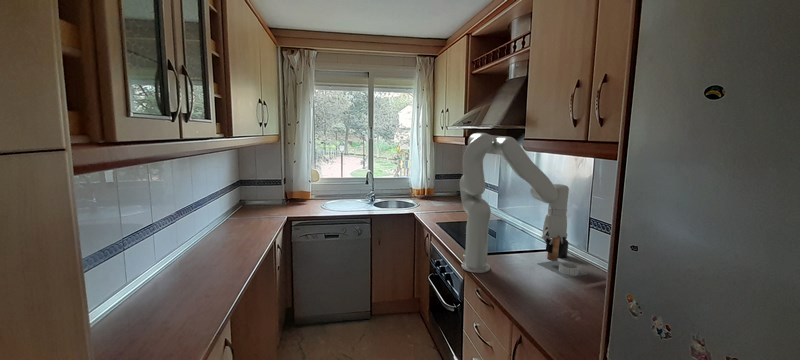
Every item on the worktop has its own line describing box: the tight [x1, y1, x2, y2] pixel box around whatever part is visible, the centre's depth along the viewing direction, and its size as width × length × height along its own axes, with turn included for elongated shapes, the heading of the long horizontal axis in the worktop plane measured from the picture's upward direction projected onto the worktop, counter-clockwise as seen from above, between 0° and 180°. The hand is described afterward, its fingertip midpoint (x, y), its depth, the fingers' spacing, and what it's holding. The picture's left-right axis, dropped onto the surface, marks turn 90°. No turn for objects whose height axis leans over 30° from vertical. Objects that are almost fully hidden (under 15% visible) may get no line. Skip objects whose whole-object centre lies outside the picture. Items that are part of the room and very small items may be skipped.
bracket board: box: [536, 260, 588, 279], centre depth 154 cm, size 17×12×4 cm
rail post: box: [546, 235, 560, 261], centre depth 157 cm, size 4×4×12 cm
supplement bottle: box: [558, 236, 569, 259], centre depth 170 cm, size 7×7×12 cm
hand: (553, 251), depth 158 cm, fingers closed on rail post, 4 cm apart
